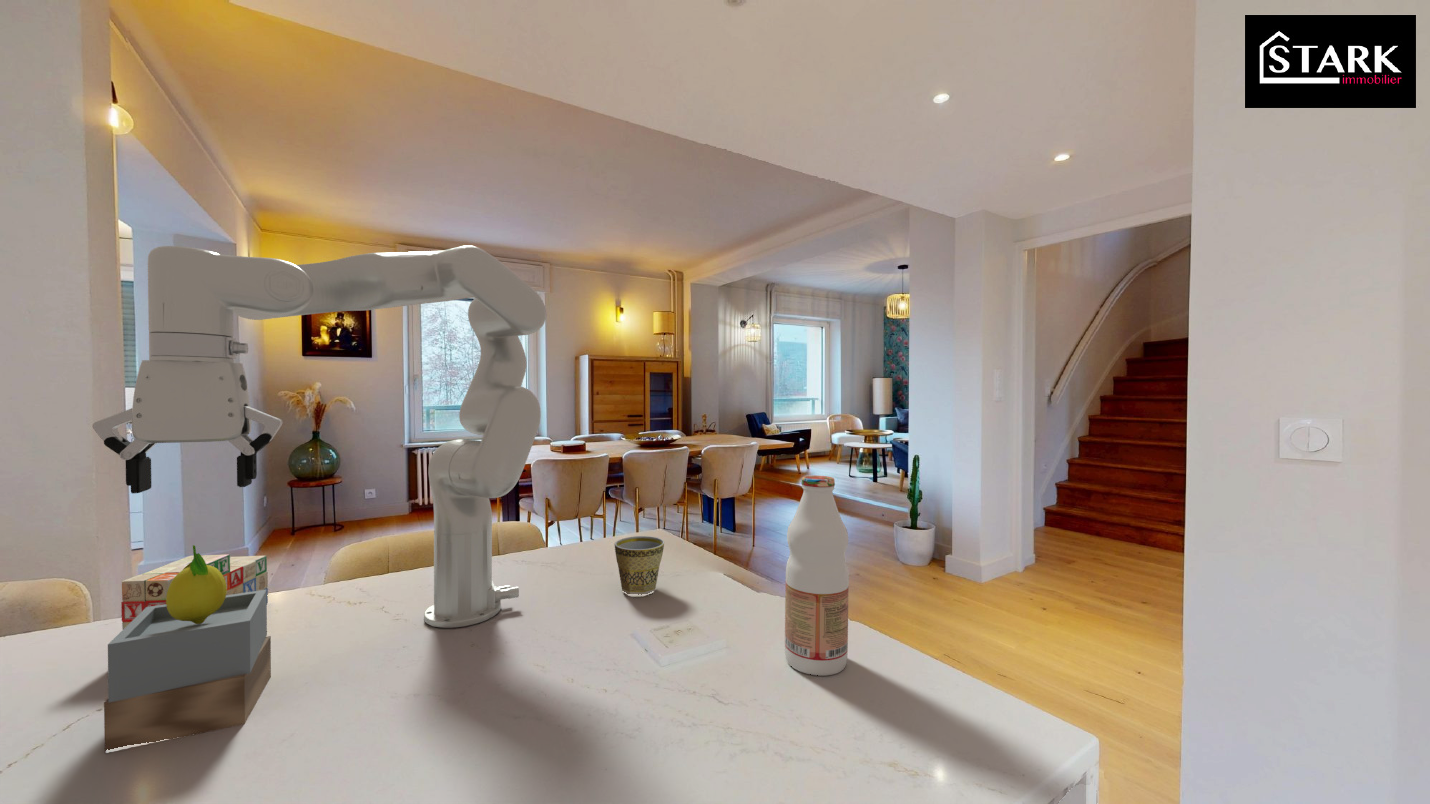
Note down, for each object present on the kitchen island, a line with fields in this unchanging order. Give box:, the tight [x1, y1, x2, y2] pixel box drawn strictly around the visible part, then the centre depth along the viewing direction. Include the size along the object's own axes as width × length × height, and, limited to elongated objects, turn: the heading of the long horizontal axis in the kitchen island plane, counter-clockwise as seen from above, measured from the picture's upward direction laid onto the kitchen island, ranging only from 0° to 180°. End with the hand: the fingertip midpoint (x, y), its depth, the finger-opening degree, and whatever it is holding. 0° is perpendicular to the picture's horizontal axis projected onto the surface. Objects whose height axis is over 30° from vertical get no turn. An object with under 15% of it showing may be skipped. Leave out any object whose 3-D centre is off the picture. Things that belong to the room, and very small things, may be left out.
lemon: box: [166, 544, 227, 624], centre depth 68 cm, size 7×6×10 cm
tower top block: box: [107, 589, 268, 703], centre depth 68 cm, size 12×12×6 cm
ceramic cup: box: [614, 535, 665, 595], centre depth 111 cm, size 13×10×10 cm
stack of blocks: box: [120, 553, 269, 630], centre depth 90 cm, size 21×6×12 cm, turn 7°
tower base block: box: [103, 635, 272, 752], centre depth 67 cm, size 12×12×6 cm
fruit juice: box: [784, 474, 850, 677], centre depth 81 cm, size 9×9×28 cm
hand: (194, 488), depth 67 cm, fingers open, 9 cm apart
